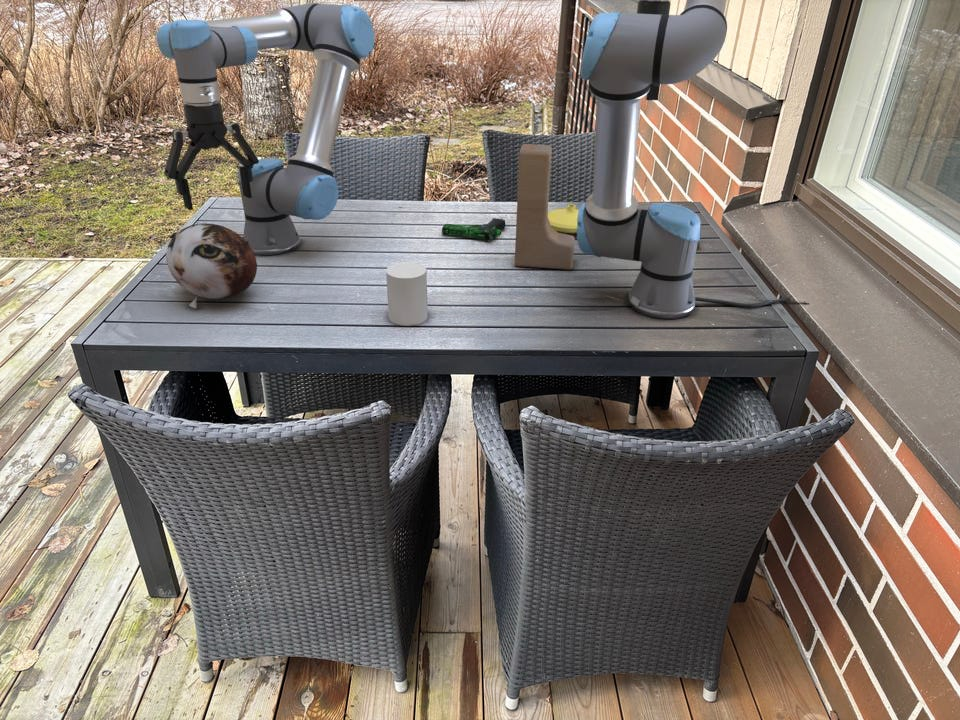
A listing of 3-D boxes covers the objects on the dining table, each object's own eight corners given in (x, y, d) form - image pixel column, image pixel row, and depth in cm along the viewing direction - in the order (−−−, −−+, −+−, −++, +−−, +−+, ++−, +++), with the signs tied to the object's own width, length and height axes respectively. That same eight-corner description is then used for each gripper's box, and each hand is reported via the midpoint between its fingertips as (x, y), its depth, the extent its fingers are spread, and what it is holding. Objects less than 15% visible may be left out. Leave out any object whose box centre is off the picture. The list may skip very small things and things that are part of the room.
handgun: (511, 219, 210) (493, 234, 198) (511, 228, 211) (492, 244, 199) (461, 212, 215) (440, 226, 203) (461, 221, 217) (440, 236, 204)
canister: (419, 328, 157) (418, 280, 151) (382, 322, 159) (379, 275, 153) (433, 311, 164) (432, 264, 158) (397, 305, 166) (395, 259, 160)
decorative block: (572, 270, 184) (582, 153, 169) (514, 266, 186) (519, 150, 171) (572, 259, 191) (582, 146, 175) (516, 255, 192) (521, 143, 177)
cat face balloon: (130, 285, 161) (164, 203, 163) (192, 308, 177) (221, 233, 178) (195, 307, 151) (229, 220, 152) (254, 330, 166) (285, 250, 168)
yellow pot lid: (559, 216, 220) (561, 193, 217) (605, 227, 212) (608, 204, 209) (532, 230, 209) (533, 207, 206) (580, 242, 201) (582, 218, 198)
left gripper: (147, 113, 139) (169, 218, 149) (265, 98, 153) (278, 195, 164) (133, 106, 143) (156, 209, 154) (249, 93, 158) (262, 188, 169)
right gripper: (623, -5, 178) (613, 85, 188) (657, 3, 156) (644, 104, 167) (652, -5, 178) (641, 85, 189) (690, 4, 157) (675, 104, 168)
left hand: (219, 202), depth 159 cm, fingers open, 13 cm apart
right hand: (642, 94), depth 178 cm, fingers open, 13 cm apart
